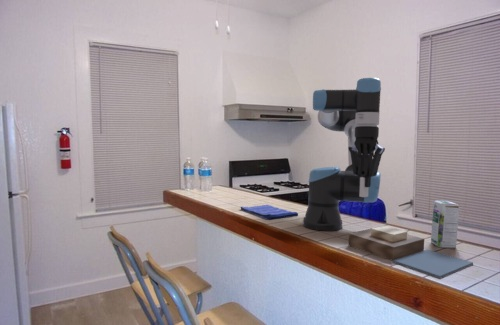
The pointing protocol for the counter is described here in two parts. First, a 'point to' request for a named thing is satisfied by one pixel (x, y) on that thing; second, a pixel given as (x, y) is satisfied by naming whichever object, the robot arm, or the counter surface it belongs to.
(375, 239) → the plate
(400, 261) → the slate mat
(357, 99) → the robot arm
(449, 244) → the syrup box
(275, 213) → the dish towel
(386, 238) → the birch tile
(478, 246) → the counter surface
